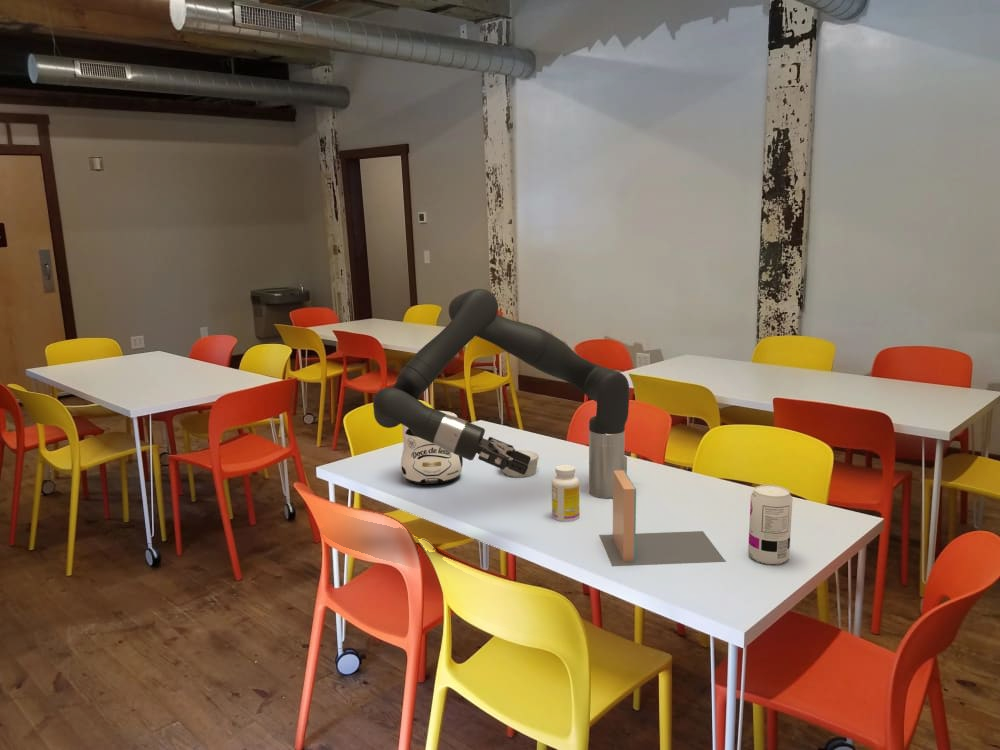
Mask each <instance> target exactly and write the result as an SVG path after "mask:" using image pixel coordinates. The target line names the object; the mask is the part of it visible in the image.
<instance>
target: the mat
mask: <svg viewBox="0 0 1000 750" xmlns="http://www.w3.org/2000/svg"><path fill="white" fill-rule="evenodd" d="M598 537H599V538H600V540H601V543H602V546H603V548H604V550H605V553H606V555H607V557H608V559H609V560H608V561H610V564H611V567H623V566H624V567H626V566H651V565H653V566H655V565H675V564H676V565H679V564H680V565H681V564H703V563H705V564H706V563H708V564H709V563H726V562H727V561H726V560H725V558H724V557H723V556H722V554H721V553H720V551H718V549H717V548H716V547H715V545H714V543H713V542H712V541H711V540H710V538H709V537H708V536H707V534H705V532H704V531H703V530H699V531H698V530H696V531H695V530H694V531H670V532H669V531H668V532H643V533H640V532H639V533H635V561H623V560H622V557H621V555H620V553H619V551H618V549H617V546H616V544H615V542H614V540H613V533H612V534H599V535H598Z"/></svg>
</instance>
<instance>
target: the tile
mask: <svg viewBox="0 0 1000 750" xmlns="http://www.w3.org/2000/svg"><path fill="white" fill-rule="evenodd" d="M636 514H637V488H636V486H635V485H634V483H633V482H632V480H631V478H630V477H629V475H628V473H627V474H626V472H625V470H616V471H613V498H612V534H613V540H614V542H615V544H616V546H617V549H618V551H619V553H620V555H621V557H622V560H623V561H635V534H637V533H636V524H637V521H636V520H637V519H636V517H637V515H636Z"/></svg>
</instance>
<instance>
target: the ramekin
mask: <svg viewBox="0 0 1000 750" xmlns="http://www.w3.org/2000/svg"><path fill="white" fill-rule="evenodd" d="M515 451H518V452H521V453H523V454H526V455H528V456H530V457H531V459H530V461H529V464H528V469H527V471H526V473H525V474H524V475H523V474H520V473H518V472H516V471H513V470H511V469H509V467H508V469H504V470H503V469H502V472H503V474H505V475H506V476H507V477H511V478H527V477H526V476H528V477H531V476H533V475H534V474H535V473H536V471H537V469H538V468H537V467H538V460H539V457H540V456H539V454H538V452H535V451H532V450H525V449H515ZM512 459H513V458H512Z"/></svg>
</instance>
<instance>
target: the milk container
mask: <svg viewBox="0 0 1000 750" xmlns="http://www.w3.org/2000/svg"><path fill="white" fill-rule="evenodd" d="M439 411H440V412H443V413H445V414H448V415H451V416H455V417H458V415H457V414H455V413H454V412H451V411H445V410H439ZM401 425H402V424H401ZM401 428H402V440H403V441H402V443H403V450H402V455H401V459H400V468H401V471H402V476H403V477H404V478H405V479H406V480H408V481H409V482H412V483H415V484H419V485H439V484H444V483H445V484H446V483H448V482H450V481H454V480H455V479H457V478H458V477H459V476H460V475H461V473H462V471H463V459H464V458H463V457H461V456H459V455H456V454H454V453H452V452H449V451H447V450H444V449H442V448H440V447H439V446H437V445H435V444H434V443H431V442H429V441H426V440H424V439H421V438H419V437H417V436H415V435H414V434H413V433H412V432H411V430H410V429H409V428H408V427H406V426H404V425H402V427H401Z"/></svg>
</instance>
